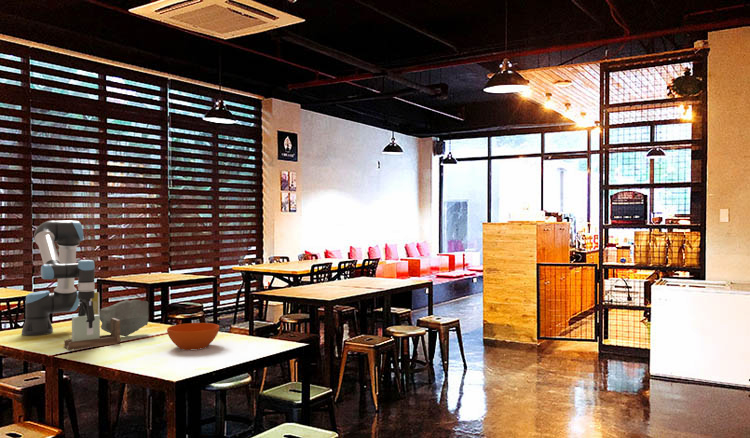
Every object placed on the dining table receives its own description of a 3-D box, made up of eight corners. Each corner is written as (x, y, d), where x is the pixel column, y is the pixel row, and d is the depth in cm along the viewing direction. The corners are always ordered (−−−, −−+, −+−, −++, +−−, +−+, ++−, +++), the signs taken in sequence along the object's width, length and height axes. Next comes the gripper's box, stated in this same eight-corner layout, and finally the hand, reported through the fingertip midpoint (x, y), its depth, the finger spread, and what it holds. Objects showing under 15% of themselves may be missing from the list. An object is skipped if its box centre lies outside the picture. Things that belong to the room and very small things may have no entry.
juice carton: (101, 332, 331) (101, 290, 331) (88, 334, 325) (88, 291, 325) (91, 330, 336) (92, 289, 336) (78, 332, 330) (78, 290, 330)
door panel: (71, 344, 292) (72, 317, 292) (97, 341, 300) (97, 314, 300) (74, 346, 289) (74, 318, 289) (99, 342, 297) (99, 315, 297)
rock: (102, 340, 307) (102, 303, 307) (97, 339, 311) (97, 301, 311) (151, 333, 326) (151, 298, 327) (145, 332, 331) (145, 297, 331)
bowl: (204, 339, 310) (204, 321, 310) (228, 347, 292) (228, 327, 292) (158, 346, 293) (158, 327, 293) (181, 355, 275) (181, 333, 275)
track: (63, 346, 292) (64, 322, 293) (113, 340, 308) (113, 317, 308) (69, 350, 285) (69, 325, 285) (120, 343, 301) (120, 320, 301)
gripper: (71, 289, 302) (71, 330, 302) (85, 293, 283) (85, 337, 283) (87, 288, 307) (86, 328, 307) (101, 292, 288) (101, 335, 288)
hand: (86, 332), depth 295 cm, fingers open, 13 cm apart
